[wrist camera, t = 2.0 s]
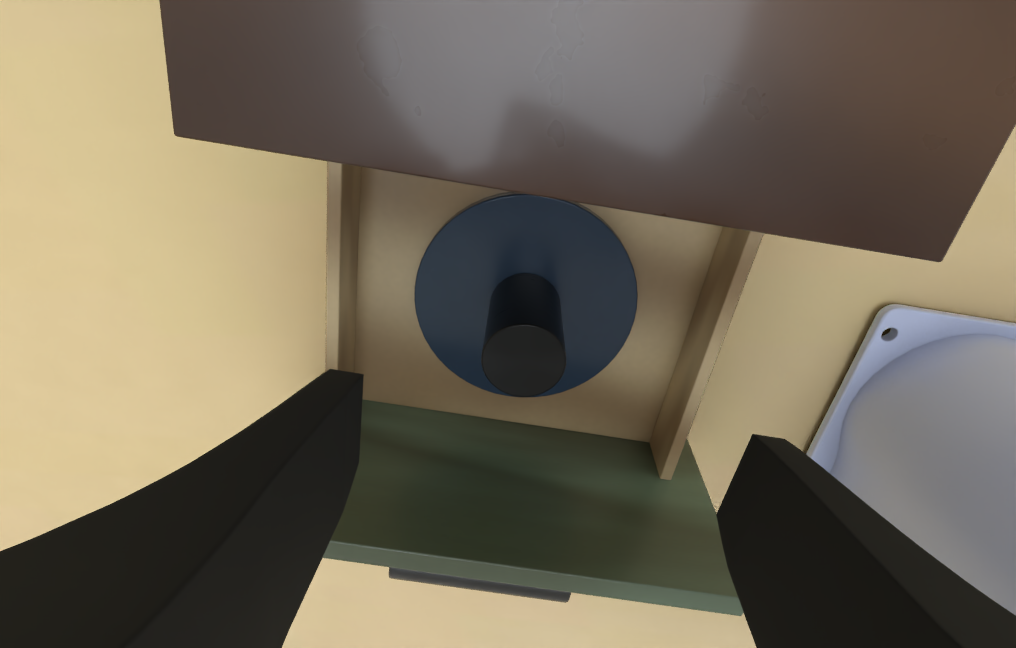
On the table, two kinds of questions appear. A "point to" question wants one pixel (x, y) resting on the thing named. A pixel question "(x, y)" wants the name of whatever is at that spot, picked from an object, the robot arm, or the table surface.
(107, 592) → the robot arm
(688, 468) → the drawer
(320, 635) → the table surface
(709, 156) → the cabinet
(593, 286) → the lid
